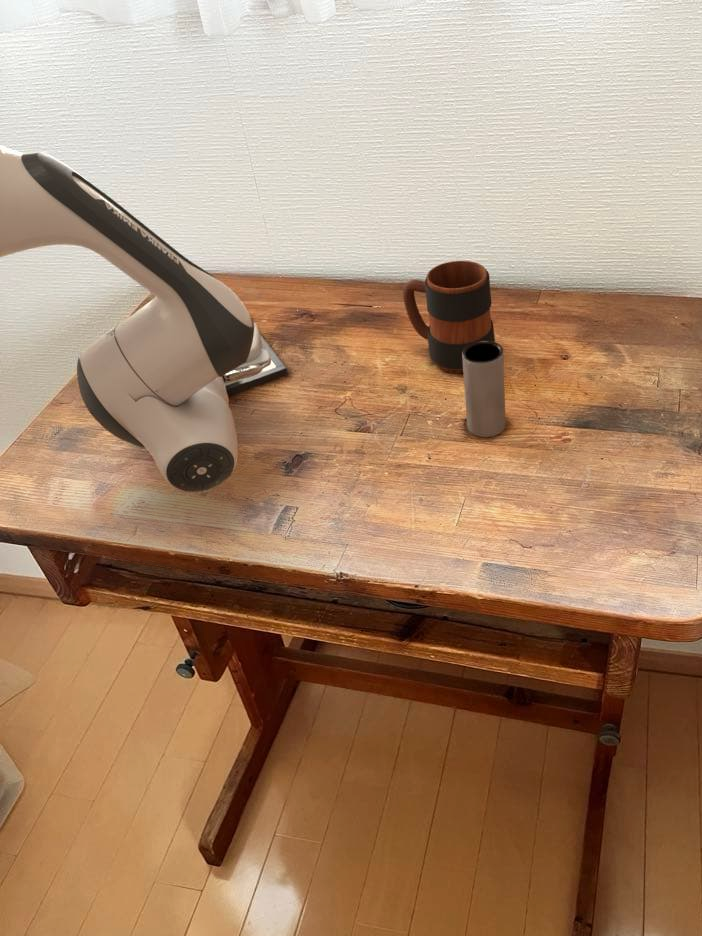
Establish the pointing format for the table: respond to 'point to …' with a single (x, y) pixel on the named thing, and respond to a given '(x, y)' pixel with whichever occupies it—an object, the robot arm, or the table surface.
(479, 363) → the planter
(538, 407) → the table surface
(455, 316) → the mug
